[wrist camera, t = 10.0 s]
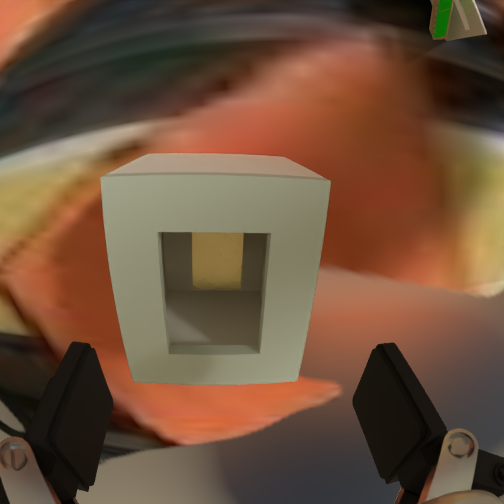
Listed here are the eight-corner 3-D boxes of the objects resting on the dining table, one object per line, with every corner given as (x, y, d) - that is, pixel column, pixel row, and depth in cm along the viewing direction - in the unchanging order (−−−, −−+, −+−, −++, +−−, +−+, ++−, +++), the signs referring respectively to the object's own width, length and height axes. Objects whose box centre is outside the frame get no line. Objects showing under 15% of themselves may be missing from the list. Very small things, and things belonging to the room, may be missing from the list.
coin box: (147, 153, 21) (100, 177, 12) (283, 156, 22) (331, 181, 13) (155, 297, 26) (133, 381, 17) (271, 297, 27) (297, 381, 18)
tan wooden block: (197, 192, 22) (192, 210, 17) (238, 193, 22) (245, 212, 18) (196, 256, 24) (192, 288, 19) (235, 256, 24) (240, 289, 20)
